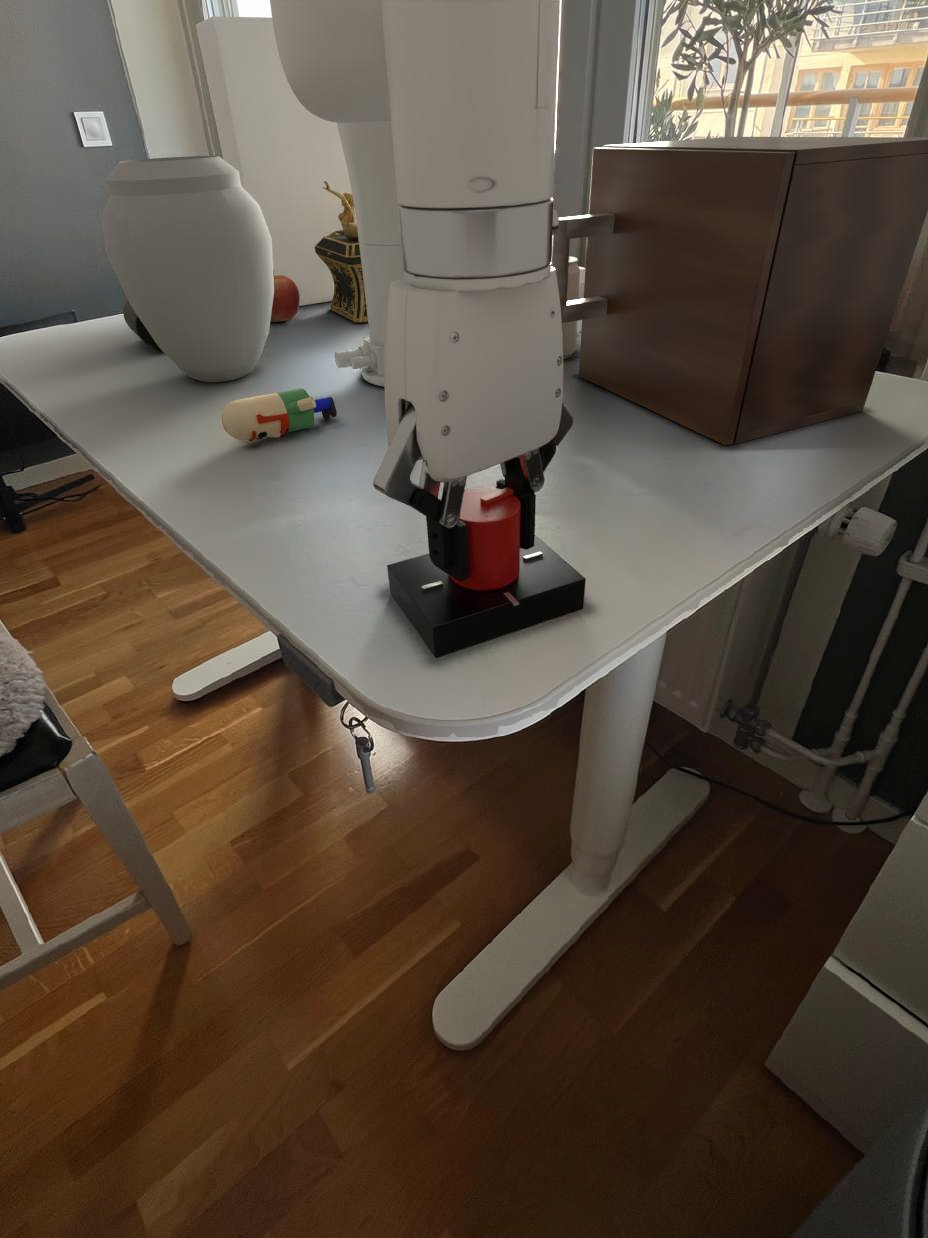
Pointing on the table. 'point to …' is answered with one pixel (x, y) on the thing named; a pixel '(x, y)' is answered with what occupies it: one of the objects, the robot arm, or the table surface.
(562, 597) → the valve panel
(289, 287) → the apple
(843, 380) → the cabinet
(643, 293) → the cabinet door
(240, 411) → the toy figurine
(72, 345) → the table surface
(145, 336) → the end cap
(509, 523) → the red rotary knob
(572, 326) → the beverage can
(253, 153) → the storage box
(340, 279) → the decorative box
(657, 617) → the table surface
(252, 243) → the vase
